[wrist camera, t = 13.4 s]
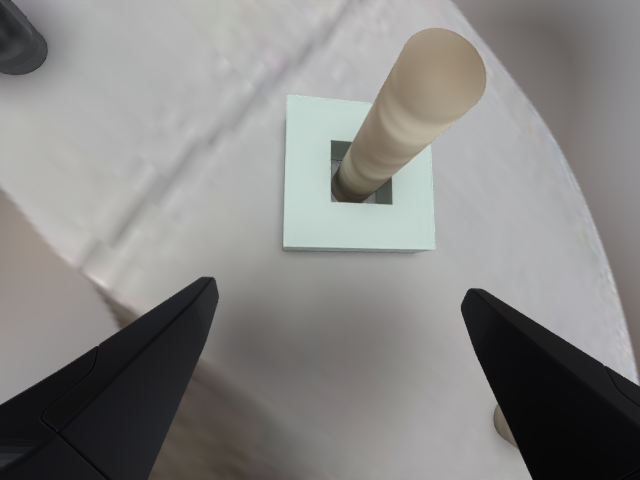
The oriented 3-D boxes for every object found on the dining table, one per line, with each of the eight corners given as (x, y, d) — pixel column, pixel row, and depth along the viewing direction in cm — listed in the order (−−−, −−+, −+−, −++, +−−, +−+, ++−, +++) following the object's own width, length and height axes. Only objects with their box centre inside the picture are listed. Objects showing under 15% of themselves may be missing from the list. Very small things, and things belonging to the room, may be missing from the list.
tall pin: (376, 191, 24) (503, 84, 10) (347, 213, 23) (440, 131, 10) (353, 160, 24) (447, 13, 10) (323, 182, 23) (381, 55, 10)
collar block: (413, 252, 24) (435, 249, 20) (283, 250, 22) (283, 246, 19) (409, 130, 25) (429, 109, 22) (286, 119, 23) (287, 94, 20)
